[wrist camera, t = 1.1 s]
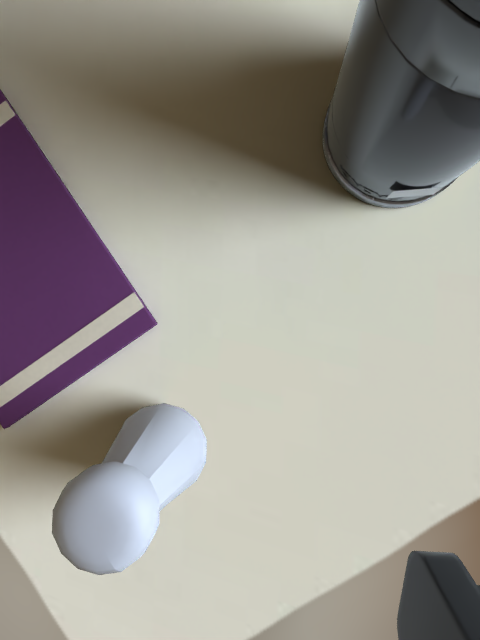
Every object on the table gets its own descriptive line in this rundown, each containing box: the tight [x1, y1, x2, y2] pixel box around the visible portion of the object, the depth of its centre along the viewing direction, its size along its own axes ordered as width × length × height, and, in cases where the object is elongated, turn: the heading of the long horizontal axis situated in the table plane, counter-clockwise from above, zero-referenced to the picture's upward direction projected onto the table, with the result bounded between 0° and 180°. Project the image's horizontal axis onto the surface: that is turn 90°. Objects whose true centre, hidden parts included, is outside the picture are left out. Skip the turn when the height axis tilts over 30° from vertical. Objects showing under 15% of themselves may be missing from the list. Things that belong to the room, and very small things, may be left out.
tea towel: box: [0, 90, 157, 429], centre depth 31 cm, size 20×13×1 cm, turn 34°
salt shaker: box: [52, 403, 207, 575], centre depth 24 cm, size 6×6×13 cm
